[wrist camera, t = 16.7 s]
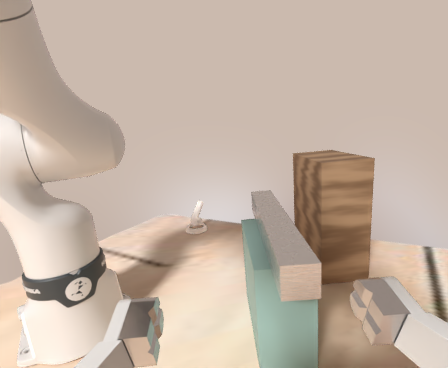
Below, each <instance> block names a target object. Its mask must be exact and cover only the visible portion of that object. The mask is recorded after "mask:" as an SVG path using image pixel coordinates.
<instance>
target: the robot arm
mask: <svg viewBox="0 0 448 368" xmlns="http://www.w3.org/2000/svg"><path fill="white" fill-rule="evenodd" d="M124 150H125V141H124V136H123V133H122V131H121V129H120V127H119V125H118V124H117V123H116V122H115V121H114V119H113V118H111V117H110V116H109V115H108V114H106V113H104V112H102V111H99V110H97V109H95V108H94V107H92V106H90V105H89V104H87V103H86V102H84V101H83V100H82V99H80V98H79V97H78V96H77V95H76V94H75V93H74V92H72V91H71V89H70V88H69V87H68V86H67V85H66V84H65V82H64V81H63V80H62V78H61V77H60V75H59V74H58V72H57V70H56V68H55V66H54V63H53V62H52V59H51V56H50V54H49V51H48V49H47V46H46V44H45V41H44V38H43V35H42V33H41V30H40V27H39V24H38V21H37V18H36V14H35V11H34V8H33V6H32V2H31V0H0V222H1V223H2V225H3V226H4V227H5V228H6V230H7V231H8V233H9V235H10V237H11V239H12V241H13V243H14V246H15V248H16V251H17V253H18V256H19V258H20V261H21V264H22V268H23V271H24V272H23V274H22V280H23V287H24V290H25V291H26V294H27V297H28V298H27V301H26V303H25V304H24V305H22V306H19V307H18V308H17V313H18V317H19V320H20V321H22V323H23V326H22V332H21V338H20V344H19V350H18V356H17V365H18V367H27V366H31V365H35V364H62V363H66V362H70V361H73V360H76V359H78V358H81V357H83V356H85V355H86V356H85V357H84V358H83V359H82V360H81V361H80V362H79V363H78V364H77V365H76V366H75V367H74V368H137V367H145V366H153V365H157V360H158V355H159V349H160V345H159V342H158V339H159V338H160V336H161V335H162V331H163V320H164V319H163V312H162V309H160V308H159V305H160V301H159V298H158V297H154V298H138V299H131V298H130V296H128V295H126V294H124V293H122V292H121V288H120V285H119V281H118V278H117V274H116V272H115V271H112V270H111V269H108V268H106V262H105V255H104V254H103V250H102V248H100V247H99V244H98V240H97V235H96V230H95V226H94V222H93V217H92V215H91V213H90V211H89V210H88V209H87V208H85V207H84V206H82V205H80V204H78V203H75V202H71V201H66V200H62V199H58V198H55V197H53V196H51V195H49V194H48V193H47V192H46V191H45V190H44V188H43V186H42V183H45V182H52V181H60V180H67V179H73V178H81V177H88V176H92V175H95V174H98V173H101V172H104V171H107V170H110V169H112V168H116V166H118V164H119V163H120V161H121V159H122V157H123V154H124ZM353 287H354V289H355V290H354V291H353V292H352V293H351V294H350V305H351V308H352V311H353V313H354V315H355V316H356V318H358V319H359V320H360V321H362V322H363V325H362V329H363V331H364V332H365V334H366V336H367V338H368V339H369V341H370V343H371V345H387V344H394V346H395V347H396V348H398V349H399V350H400V351H401V352H402V353H403V354H405V355H406V356H407V357H408V358H409V359H410V360H412V361H413V362H414V363H415V364H416V365H417V366H419V367H420V368H448V323H447V322H445V321H443V320H442V319H440V318H438V317H436V316H435V315H433V314H431V313H426V312H425V311H424V310H423V309H422V308H421V307H420V305H419V304H418V303H417V302H416V301H415V300H414V298H413V297H412V296H411V295H410V294H409V293H408V291H407V290H406V289H405V288H404V287H403V286H402V284H401V283H400V282H399V281H398V280H397V279H396V278H395V277H381V278H379V277H377V278H368V279H358V280H355V281H354V283H353Z"/></svg>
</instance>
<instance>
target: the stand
mask: <svg viewBox="0 0 448 368" xmlns="http://www.w3.org/2000/svg"><path fill="white" fill-rule="evenodd" d="M374 160H375V159H374V158H370V157H365V156H359V155H354V154H349V153H344V152H339V151H333V150H327V151H316V152H306V153H294V154H293V170H294V213H295V226H296V228H297V229H298V231H299V232H300V233H301V235H302V236H303V238H304V239H305V241H306V242H307V243H308V245H309V246H310V248H311V249H312V251H313V252H314V253H315V255H316V256H317V258H318V259H319V261H320V262H321V284H330V283H341V282H352V281H355V280H358V279H368V275H369V256H370V235H371V218H372V198H373V179H374Z"/></svg>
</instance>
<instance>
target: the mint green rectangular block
mask: <svg viewBox="0 0 448 368" xmlns="http://www.w3.org/2000/svg"><path fill="white" fill-rule="evenodd" d="M242 234H243V248H244V261H245V274H246V287H247V297H248V303H249V309H250V314H251V320H252V326H253V332H254V338H255V344H256V349H257V355H258V361H259V367H260V368H318V299H313V300H298V301H283V302H281V299H280V296H279V293H278V290H277V287H276V283H275V280H274V277H273V274H272V271H271V267H270V264H269V261H268V258H267V255H266V251H265V248H264V245H263V242H262V239H261V235H260V232H259V229H258V226H257V223H256V220H255V219H247V220H242Z"/></svg>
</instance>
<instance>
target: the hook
mask: <svg viewBox="0 0 448 368" xmlns="http://www.w3.org/2000/svg"><path fill="white" fill-rule="evenodd" d="M202 206H203V202H202V201H198V202H197V204H196V206H195V209H194V212H193V214H192V217H191V224H189V225H188V226H187V229H186V232H187V233H189V234H200V233H203V232H205V231H206V230H207V229H208V227H207V226H206V224H205V223H203V222H202V219H201V218H199V217H198V216H199V214H200V211H201V208H202ZM193 226H203V227H201V228H197V229H191V227H193Z"/></svg>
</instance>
